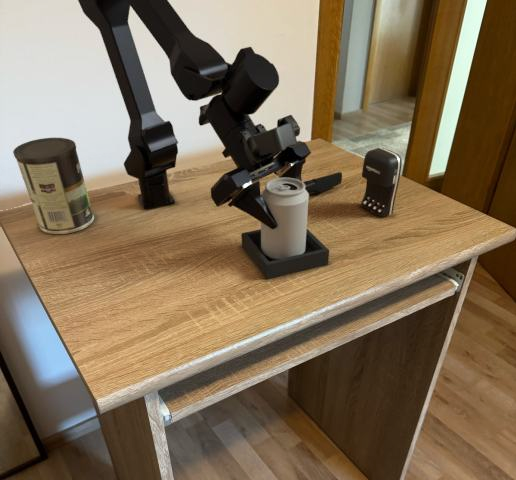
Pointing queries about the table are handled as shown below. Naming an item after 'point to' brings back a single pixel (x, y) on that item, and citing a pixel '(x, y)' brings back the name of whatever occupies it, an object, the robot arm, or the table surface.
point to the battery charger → (381, 180)
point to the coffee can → (55, 184)
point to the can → (285, 218)
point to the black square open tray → (271, 268)
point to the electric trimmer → (323, 183)
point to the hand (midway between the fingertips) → (290, 219)
